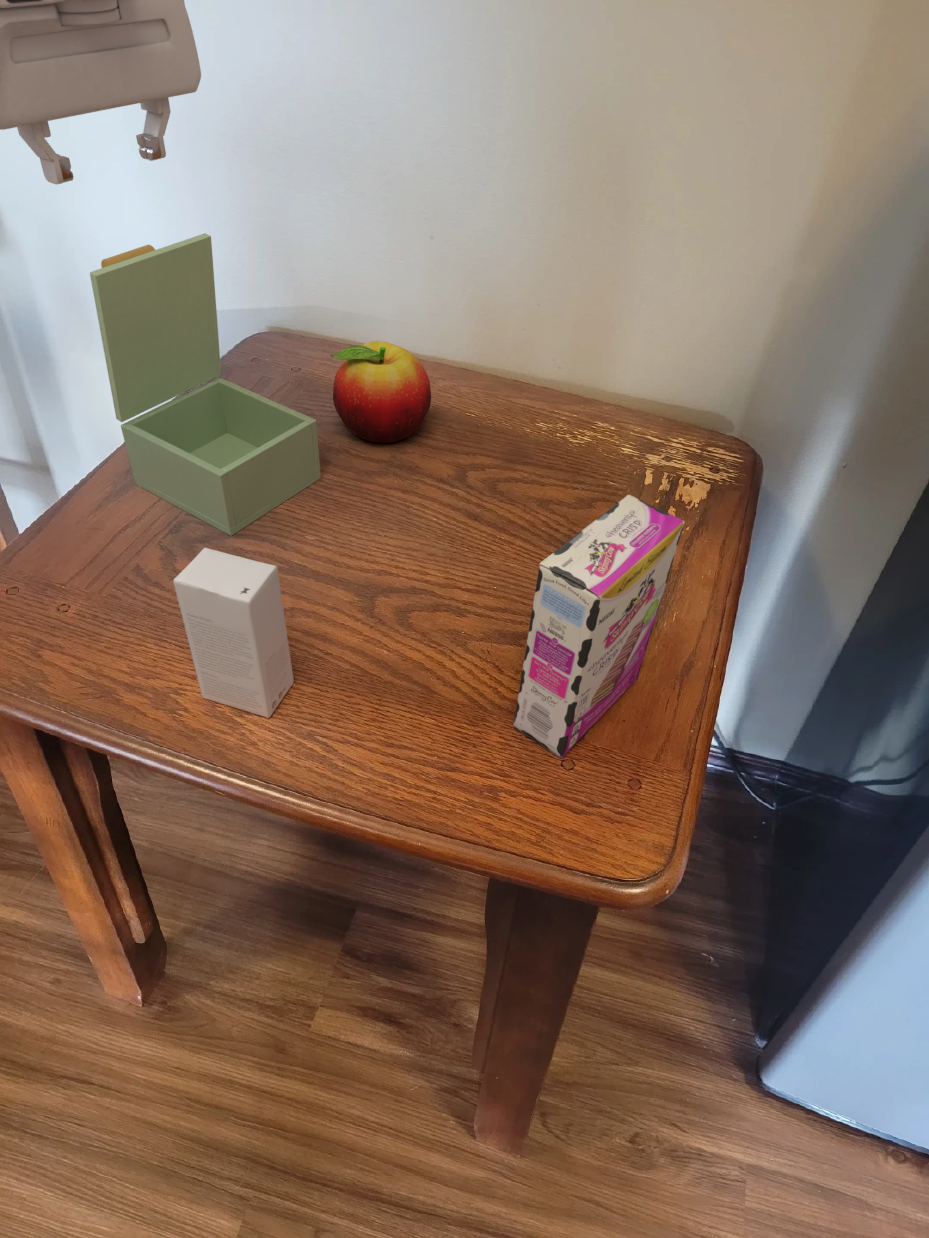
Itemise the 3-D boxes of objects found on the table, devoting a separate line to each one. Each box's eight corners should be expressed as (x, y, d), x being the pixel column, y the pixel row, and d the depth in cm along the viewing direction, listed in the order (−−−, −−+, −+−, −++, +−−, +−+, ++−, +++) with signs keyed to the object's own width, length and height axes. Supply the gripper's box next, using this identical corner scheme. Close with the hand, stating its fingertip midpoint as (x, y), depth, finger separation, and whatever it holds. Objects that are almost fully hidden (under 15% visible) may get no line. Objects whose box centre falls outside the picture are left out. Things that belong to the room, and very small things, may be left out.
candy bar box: (564, 763, 63) (600, 598, 51) (510, 728, 65) (533, 562, 54) (642, 681, 69) (688, 518, 58) (591, 651, 71) (626, 489, 60)
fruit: (439, 451, 93) (442, 366, 86) (340, 459, 91) (335, 372, 84) (420, 402, 101) (421, 320, 94) (328, 409, 98) (323, 326, 92)
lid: (211, 236, 78) (176, 218, 79) (95, 276, 70) (59, 255, 72) (221, 374, 88) (190, 356, 90) (121, 422, 81) (89, 402, 82)
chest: (321, 478, 88) (316, 420, 83) (231, 536, 80) (220, 475, 76) (228, 434, 93) (219, 377, 89) (135, 484, 86) (120, 425, 81)
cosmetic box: (295, 682, 67) (280, 565, 59) (269, 720, 64) (250, 603, 56) (228, 661, 69) (203, 544, 60) (199, 698, 66) (169, 580, 57)
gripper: (149, -49, 70) (179, 139, 79) (-95, -34, 57) (-25, 187, 67) (203, -40, 67) (227, 153, 77) (-40, -22, 55) (25, 206, 64)
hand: (108, 169), depth 72 cm, fingers open, 8 cm apart
